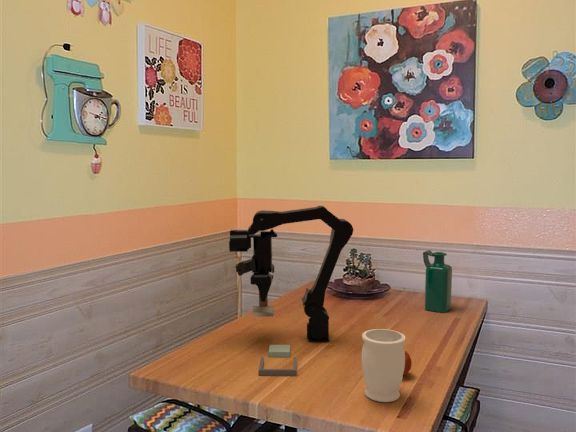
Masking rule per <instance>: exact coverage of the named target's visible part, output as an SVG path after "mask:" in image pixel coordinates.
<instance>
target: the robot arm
mask: <svg viewBox="0 0 576 432" xmlns="http://www.w3.org/2000/svg"><path fill="white" fill-rule="evenodd" d="M315 220H320V221H321V222H323V223H324V224H326V225H327V226H328V227H329V228H331V232H330V237H329V238H330V239H329V245H328V248H327V250H326V253H325V255H324V258H323V261H322V264H321V265H320V268H319V271H318V274H317V275H316V278H315V282H314V284H313V285H312V287H311V288H305V292H304V295H303V297H302V298H301V302H302V307H303V311H304V314H305V315H306V316H307V317H308V322H307V323H306V338H307V339H308V342H323V343H324V342H330V337H329V336H330V335H329V333H330V332H329V331H330V330H329V328H330V327H329V326H330V321H329V320H330V315H329V313H328V311H327V308H325V306H324V304H325V297H326V291H327V289H328V285H329V282H330V280H331V277H332V275H333V273H334V270H335V267H336V265H337V262H338V259H339V257H340V255H341V252H342V250H343V249H344V247H345V246H346V245H347V244H348V242H349V241H350V239H351V237H352V236H353V233H354V227H353V225H352V223H350V222H349V221H348V220H346V219H345V218H339V217H337V216H336V215H334V214H333V213H332V212H331V211H330V210H328V209H327V208H326V207H325V206H324V205H317V206H315V207H314V206H313V207H305V208H298V209H291V210H284V211H276V210H264V209H263V210H258V211H256V212H255V213H254V215H253V218H252V223H251V224H250V225H249V226H248V228H247V230H246V229H244V230H243V229H242V230H240V229H239V230H236V229H231V230H230V231H229V242H228V249H229V252H230V253H242V252H243V253H246V252H247V253H248V251H249V250H250V249H252V246H253V249H252V250H253V254H252V256H251V258H249V259H246V260H242V261H241V262H240V261H239V262H237V264H235V266H234V268H235V272H236V273H237V275H238V277H240V276H243V275H244V274H246V273H250V272H251V273H252V275H251V276H250V277H249V278H250V285H253V286H256V287H257V289H258V295H259V294H260V297H261V301H262V302H265V300H266V297H267V294H269V291H270V288H271V286H272V284H273V279H274V275H273V273H275V264H273V252H272V251H273V245H272V244H273V242H272V238H277V237H278V233H276V232H275V230H274V228H277V227H279V226H282V225H286V224H294V223H302V222H307V221H308V222H309V221H315ZM268 230H269V231H268ZM257 233H259V234H257ZM252 240H253V242H252ZM252 243H253V244H252ZM271 273H272V274H271Z"/></svg>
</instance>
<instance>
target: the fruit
mask: <svg viewBox="0 0 576 432" xmlns="http://www.w3.org/2000/svg"><path fill="white" fill-rule="evenodd" d="M404 351H405V367H404V372H403V376H405V375H406V374H408V373H409V372H410V371H411V368H412V362H413V361H412V358H411V356H410V354H409V352H407V351H406V350H404Z"/></svg>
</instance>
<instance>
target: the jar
mask: <svg viewBox="0 0 576 432" xmlns="http://www.w3.org/2000/svg"><path fill="white" fill-rule="evenodd" d="M361 338H362V340H363V344H362V349H361V368H362V369H361V370H362V376H363V381H364V384H365V386H366V389H365V391H364V394H365V396H366V397H367V398H368V399H370V400H371V401H372V400H373V401H375V402H380V403H390V402H395V401H397V400H398V399H400V395H401V394H400V391H399V389H400V387H401V385H402V382H403V377H404V375H403V372H404V367H405V351H406V350H405V347H404V344H405V342H406V336H405V334H404V333H402V332H400V331H397V330H393V329H387V328H375V329H369V330H366V331H364V332H362V334H361Z"/></svg>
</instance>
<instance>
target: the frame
mask: <svg viewBox="0 0 576 432" xmlns="http://www.w3.org/2000/svg"><path fill="white" fill-rule="evenodd" d="M264 360H265V358H264V356H261V357H260V359H259V366H258V376H267V377H268V376H273V377H275V376H277V377H279V376H285V377H286V376H288V377H289V376H291V377H292V376H293V377H296V376H297V357H296V356H294V357H293V362H292V363H293V364H292V365H293V366H292V367H293V368H264V362H265V361H264Z"/></svg>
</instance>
